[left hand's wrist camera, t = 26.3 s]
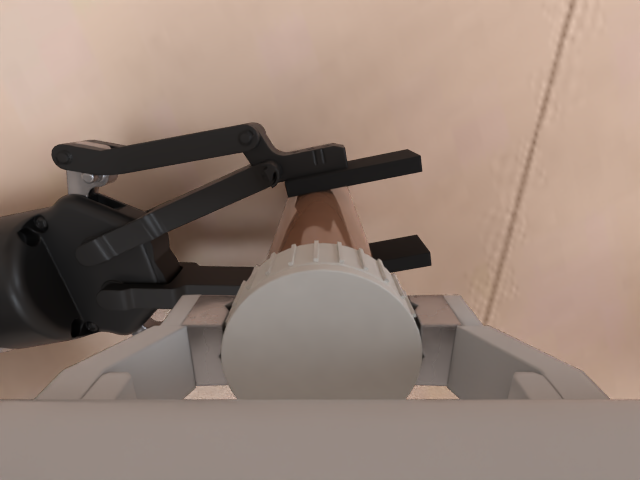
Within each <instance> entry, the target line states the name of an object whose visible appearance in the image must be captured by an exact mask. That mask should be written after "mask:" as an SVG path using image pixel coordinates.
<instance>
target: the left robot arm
mask: <svg viewBox="0 0 640 480" xmlns="http://www.w3.org/2000/svg"><path fill="white" fill-rule="evenodd" d="M235 297H236V296H234V295H182V296H181V298H180V299H179V300H178V302H177V303H176V305H175V306H174V307H173V309H172V310H171V311H170V313H169V314H168V315H167V317H166V318H165V319H164V321H163V322H162V323H161V325H160V326H153V327H150V328H148V329H146V330H144V331H142V332H140V333H138V334H136V335H134V336H132V337H130V338H128V339H126V340H124V341H122V342H120V343H118V344H116V345H114V346H112V347H109V348H107V349H105V350H103V351H101V352H99V353H97V354H95V355H93V356H91V357H89V358H87V359H85V360H83V361H81V362H79V363H77V364H75V365H73V366H71V367H68V368H66V369H64V370H62V371H61V372H60V373H59V374H58V375H57V376H56V377H55V378H54V379H53V380H52V381H51V382H50V383H49V385H48V386H47V387H46V388H45V389H44V390H43V391H42V392H41V393H40V394H39V395H38V396H37V397H36V398H35V399H0V480H640V399H610V398H609V397H608V396H607V395H606V394H605V393H604V392H603V391H602V390H601V389H600V388H599V387H598V386H597V385H596V384H595V383H594V382H593V381H592V380H591V379H590V378H589V377H588V376H587V375H586V374H585V373H584V372H583V371H581V370H579V369H577V368H575V367H573V366H571V365H569V364H567V363H565V362H563V361H561V360H559V359H557V358H555V357H553V356H551V355H548V354H546V353H544V352H542V351H540V350H538V349H536V348H534V347H532V346H530V345H528V344H526V343H524V342H522V341H520V340H518V339H516V338H513V337H511V336H509V335H507V334H505V333H503V332H501V331H499V330H497V329H495V328H493V327H491V326H483V324H482V323H481V322H480V321H479V319H478V318H477V317H476V315H475V314H474V313H473V311H472V310H471V309H470V307H469V306H468V305H467V303H466V302H465V301H464V299H463V298H462V297H461V296H460V295H458V294H457V295H416V296H407V297H408V299H409V301H410V303H411V305H412V307H413V309H414V312H415V314H416V317H414V320H415V322H416V325H417V327H418V329H419V333H420V337H421V341H422V364H421V368H420V373H419V376H418V378H417V381H416V383H415V385H431V386H447V388H448V389H450V390H451V391H452V392H453V393H454V394H455V395H456V396H457V397H459V398H460V399H184V398H185V397H186V396H187V395H188V394H189V393H190V392H192V391H193V390H194V389H195V388H196V386H212V385H228V383H227V381H226V378H225V375H224V372H223V368H222V361H221V344H222V338H223V334H224V331H225V328H226V326H225V321H226V319H227V317H228V314H229V312H230V309H231V307H232V304H233V302H234V300H235Z"/></svg>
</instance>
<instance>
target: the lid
mask: <svg viewBox="0 0 640 480" xmlns="http://www.w3.org/2000/svg"><path fill="white" fill-rule="evenodd" d="M414 317H416V314H415V312H414V309H413V307H412V305H411V303H410V301H409V299H408V297H407V295H406V292H405V290H402V287H401V285H400V283H399V281H398V279H397V277H396V275H395V274H394V273H393V274H390V272H389V271H388V270H387V269H386V268H385V267H384V266H383V263H382V261H381V260H380V259H378V260H377V261H376V260H375V259H373V258H372V257H371V256H369V255H367V254H365V253H364V251H363V249H361V248H359V249H358V250H356V249H353V248H350V247H347V246H343V245H342V243H341V242H337V244H329V243H319V242H318V240H317V241H314V243H312V244H306V245H300V246H296V244H293V245H292V246H291V248H289V249H287V250H285V251H282V252H280V253H278V254H276V253H275V252H274V253H272V254H271V256H270V258H269V259H268V260H266V261H265V262H264V263H263V264H261V265H260V266H258V265H256V266H255V267H254V269H253V271H252V274H251V276H250V277H249V279H248V280H247V282H246V281H243V282H242V284H241V286H240V289H239V291H238V293H237V295H236V297H235V300H234V302H233V304H232V307H231V309H230V312H229V314H228V317H227V319H226V321H225V326H226V328H225V331H224V334H223V338H222V344H221V361H222V368H223V372H224V375H225V378H226V381H227V383H228V385H229V387H230V389H231V391H232V392H233V393H234V395H235V396H236V398H237V399H406V398H407V397H408V395H409V394H410V392H411V391H412V389H413V387H414V386H415V383H416V381H417V378H418V376H419V373H420V368H421V364H422V341H421V337H420V333H419V329H418V327H417V325H416V322H415V320H414Z"/></svg>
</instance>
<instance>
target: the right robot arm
mask: <svg viewBox="0 0 640 480" xmlns="http://www.w3.org/2000/svg"><path fill="white" fill-rule="evenodd" d="M242 152H243V153H244V155H245V156H246V158H247V159H248V161H249V162H250V165H247V166H245V167H243V168H241V169H239V170H236V171H234V172H232V173H230V174H228V175H225V176H223V177H221V178H219V179H217V180H214V181H212V182H210V183H208V184H206V185H203V186H201V187H199V188H197V189H195V190H192V191H190V192H188V193H186V194H184V195H182V196H179V197H177V198H175V199H173V200H169V201H167V202H165V203H163V204H160V205H158V206H156V207H154V208H152V209H149V210H147V211H145V212H144V211H142V210H139V209H137V208H134V207H132V206H130V205H127V204H125V203H122V202H120V201H117V200H115V199H112V198H110V197H108V196H105V195H103V194H100V193H98V190H99V187H101V186H104V185H107V184H110V183H112V182H114V181H115V180H116V179H117V177H118V175H119V174H125V173H130V172H136V171H141V170H147V169H152V168H158V167H164V166H169V165H175V164H180V163H186V162H191V161H197V160H203V159H208V158H214V157H219V156H225V155H230V154H236V153H242ZM52 159H53V161H54V162H55V164H56V165H57V166H58V167H60V168H61V169H64V170H67V184H68V195H65V196H63V197H61V198H60V199H59V200H58V201H57V202H56V203H55V204H54V205H53V206H52V207H47V208H42V209H37V210H32V211H27V212H23V213H18V214H13V215H8V216H3V217H0V353H1V352H7V351H11V350H13V349H21V348H28V347H34V346H40V345H45V344H51V343H57V342H63V341H68V340H73V339H77V338H81V337H84V336H87V335H90V334H94V333H97V332H110V333H115V334H118V335H129V334H132V335H133V336H134V335H136V334H138V333H140V332H142V331H144V330H146V329H148V328H150V327H153V326H160V325H161V323H162V322H163V321H162V322H158V321H155V320H153V319H152V318H150V317H151V316H152V315H153V314H154V312H155V311H156V310H157V309H173V307H174V306H175V305H176V303H177V302H178V300H179V299H180V298H181V296H182V295H234V296H236V295H237V293H238V291H239V289H240V286H241V284H242V282H243V281H246V282H247V280H248V279H249V277H250V276H251V274H252V271H253V269H254V267H219V266H199V265H198V264H197V263H190V262H178V260H177V258H176V257H175V256H174V254H173V253H172V251H171V250H170V248H169V238H168V233H167V232H168V231H171V230H173V229H175V228H177V227H180V226H182V225H184V224H187V223H189V222H191V221H193V220H196V219H198V218H200V217H202V216H205V215H207V214H209V213H212V212H214V211H216V210H218V209H221V208H223V207H225V206H227V205H230V204H232V203H234V202H236V201H239V200H241V199H243V198H246V197H248V196H250V195H252V194H255V193H257V192H259V191H261V190H264V189H266V188H268V187H270V186H271V187H272V188H273V187H275V186H276V185H277V183H278V182H283V181H285V186H286V190H287V194H288V198H290V197H295V196H300V195H305V194H310V193H315V192H320V191H325V190H331V189H336V188H341V187H346V186H351V185H356V184H361V183H366V182H371V181H377V180H382V179H387V178H392V177H397V176H402V175H407V174H412V173H417V172H422V164H421V156H420V155H418V154H416V153H414V152H412V151H410V150H408V149H406V150H401V151H396V152H391V153H386V154H381V155H376V156H371V157H366V158H361V159H356V160H351V161H347V158H346V152H345V147H344V146H343V145H340V144H335V143H331V144H326V145H322V146H316V147H311V148H306V149H302V150H297V151H292V152H281V151H279V150H277V149H276V148H275V147H274V146H273V144H272V143H271V141H270V140H269V138H268V137H267V135H266V132H265V129H264V128H263V127H262V126H261V125H260V124H258V123H247V124H241V125H236V126H231V127H225V128H220V129H214V130H209V131H203V132H198V133H193V134H187V135H182V136H176V137H171V138H165V139H160V140H155V141H149V142H144V143H138V144H133V145H128V146H125V145H120V144H114V143H108V142H103V141H97V140H87V141H80V142H73V143H66V144H59V145H57V146H55V147H54V148H53V150H52ZM369 246H370V249H371V251H372V254H373V257H374V259H375V260H376V261H377V260H378V259H380V260H381V261H382V263H383V266H384V267H385V268H386V269H387V270H388V271H389V272H390V273H392V272H397V271H403V270H409V269H414V268H420V267H426V266H431V256H430V252H429V250H428V249H427V248H426V246H425V245H424V244H423V242H422V241H421V240H420V238H419V237H418V236H417V235H413V236H407V237H402V238H396V239H391V240H385V241H380V242H374V243H369Z"/></svg>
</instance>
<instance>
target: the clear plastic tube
mask: <svg viewBox="0 0 640 480" xmlns="http://www.w3.org/2000/svg"><path fill="white" fill-rule="evenodd" d="M317 240H318V242H319V243H329V244H337V242H341V243H342V245H343V246H347V247H350V248H353V249H356V250H358V249H359V248H361V249H363V251H364V253H365V254H367V255H369V256H371V257H372V258H373V259H374V257H373V254H372V251H371V249H370V246H369V243H368V241H367V238H366V235H365V233H364V230H363V227H362V225H361V222H360V219H359V217H358V214H357V211H356V209H355V206H354V203H353V201H352V198H351V195H350V193H349V190H348V188H347V186H346V187H341V188H336V189H331V190H325V191H320V192H315V193H310V194H305V195H300V196H295V197H290V198H288V199H287V201H286V204H285V207H284V210H283V213H282V216H281V219H280V222H279V224H278V227H277V230H276V233H275V236H274V239H273V242H272V245H271V248H270V250H269V253H268V256H267V259H266V260H268V259H269V258H270V256H271V254H272V253H274V252H275V253H276V254H278V253H280V252H282V251H285V250H287V249H289V248H291V246H292V245H293V244H296V246H300V245H306V244H312V243H314V241H317Z"/></svg>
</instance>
